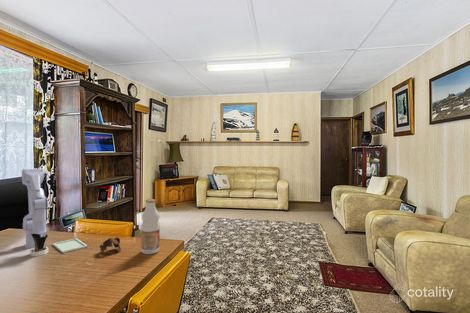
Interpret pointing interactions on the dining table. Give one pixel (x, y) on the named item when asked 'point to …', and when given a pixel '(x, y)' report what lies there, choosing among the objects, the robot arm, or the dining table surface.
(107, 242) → the brown arched lump
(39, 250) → the dowel pin
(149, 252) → the fruit juice
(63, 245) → the sage tray
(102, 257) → the dining table surface
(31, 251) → the white octagonal dish
